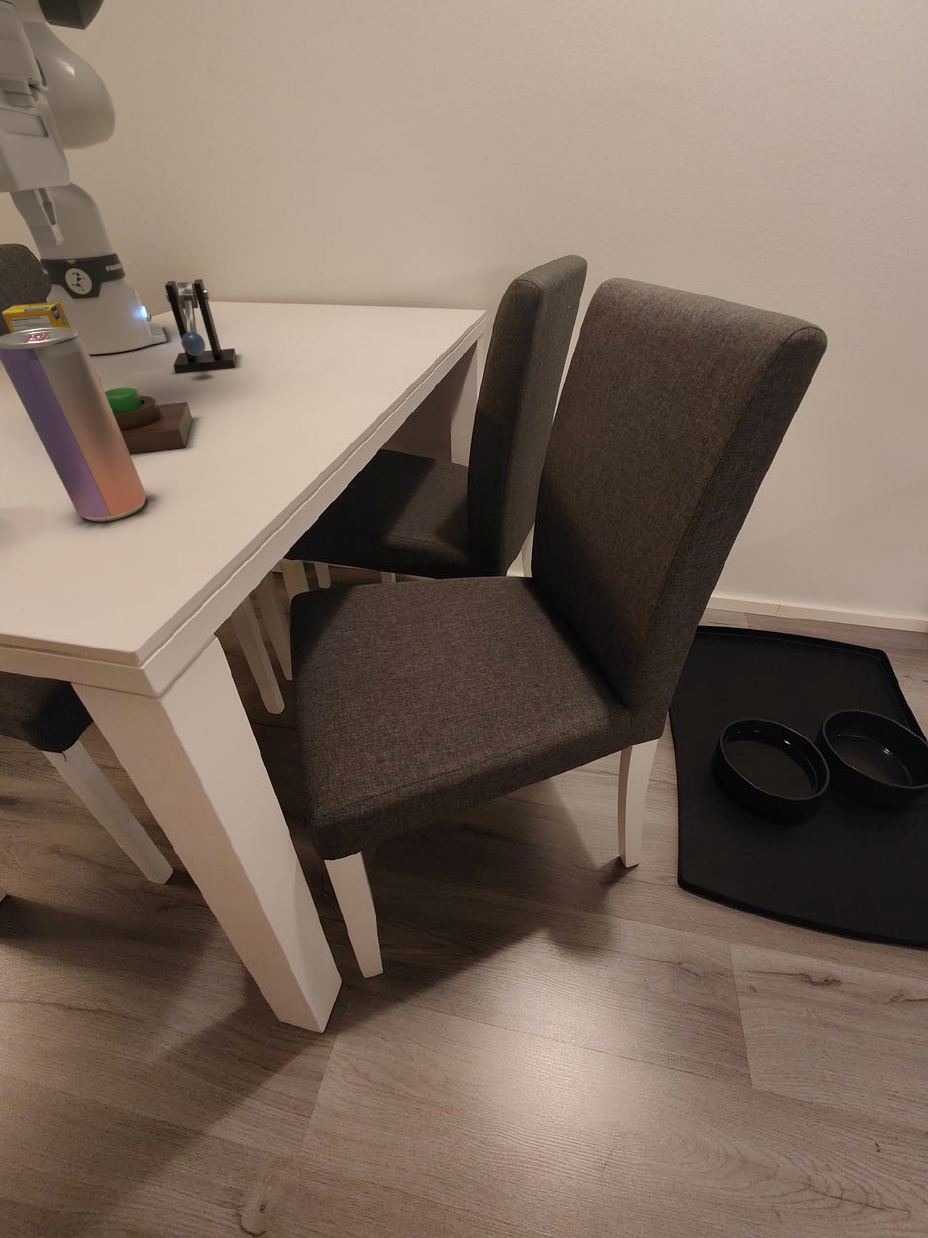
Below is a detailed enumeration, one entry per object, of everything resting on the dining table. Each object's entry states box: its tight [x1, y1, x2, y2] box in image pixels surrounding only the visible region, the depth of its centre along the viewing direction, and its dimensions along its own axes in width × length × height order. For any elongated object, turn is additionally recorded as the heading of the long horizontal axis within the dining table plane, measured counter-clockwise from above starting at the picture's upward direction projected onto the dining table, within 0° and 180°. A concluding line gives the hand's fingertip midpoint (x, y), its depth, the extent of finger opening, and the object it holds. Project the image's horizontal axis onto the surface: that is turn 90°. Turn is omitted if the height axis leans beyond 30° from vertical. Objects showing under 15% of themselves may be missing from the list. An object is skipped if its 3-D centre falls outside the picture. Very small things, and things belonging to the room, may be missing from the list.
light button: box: [104, 387, 143, 412], centre depth 65 cm, size 4×4×2 cm
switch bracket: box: [164, 278, 237, 374], centre depth 90 cm, size 8×9×12 cm
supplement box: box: [2, 302, 71, 333], centre depth 81 cm, size 6×6×11 cm
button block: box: [113, 395, 193, 455], centre depth 66 cm, size 10×12×4 cm
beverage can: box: [0, 327, 147, 522], centre depth 49 cm, size 6×6×15 cm
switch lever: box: [176, 281, 206, 356], centre depth 86 cm, size 13×3×3 cm, turn 16°
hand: (52, 246), depth 57 cm, fingers closed
